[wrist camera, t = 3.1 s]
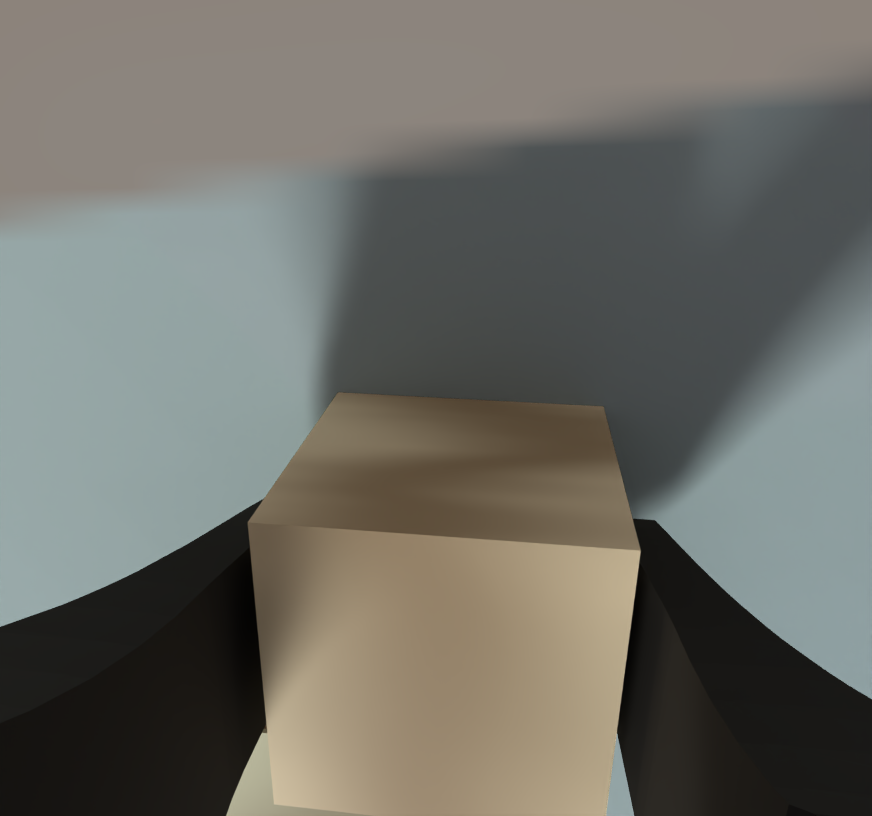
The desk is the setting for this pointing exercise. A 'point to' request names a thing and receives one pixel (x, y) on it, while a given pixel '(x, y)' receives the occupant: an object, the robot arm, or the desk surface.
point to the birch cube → (445, 609)
